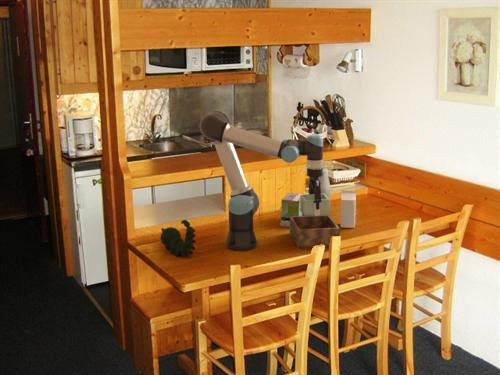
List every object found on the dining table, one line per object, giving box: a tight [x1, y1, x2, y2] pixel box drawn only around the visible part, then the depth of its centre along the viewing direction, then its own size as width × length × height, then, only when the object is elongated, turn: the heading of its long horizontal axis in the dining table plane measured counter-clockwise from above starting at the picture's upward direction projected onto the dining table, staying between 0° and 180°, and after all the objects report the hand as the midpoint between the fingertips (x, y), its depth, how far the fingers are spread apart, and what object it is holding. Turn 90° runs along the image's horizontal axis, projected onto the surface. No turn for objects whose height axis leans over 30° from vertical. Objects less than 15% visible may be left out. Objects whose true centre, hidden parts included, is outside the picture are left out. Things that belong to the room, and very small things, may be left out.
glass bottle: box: [318, 165, 332, 200], centre depth 359 cm, size 10×10×28 cm
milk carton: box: [339, 190, 357, 229], centre depth 342 cm, size 7×7×19 cm
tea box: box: [280, 192, 306, 228], centre depth 348 cm, size 15×10×15 cm, turn 161°
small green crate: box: [300, 193, 331, 217], centre depth 319 cm, size 12×11×8 cm
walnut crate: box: [289, 214, 341, 249], centre depth 322 cm, size 20×22×9 cm
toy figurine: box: [160, 219, 197, 258], centre depth 306 cm, size 9×19×25 cm
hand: (314, 212), depth 320 cm, fingers closed on small green crate, 11 cm apart
